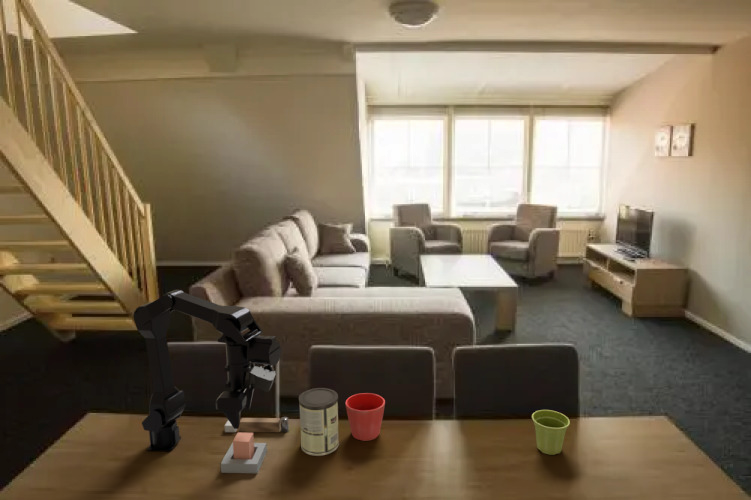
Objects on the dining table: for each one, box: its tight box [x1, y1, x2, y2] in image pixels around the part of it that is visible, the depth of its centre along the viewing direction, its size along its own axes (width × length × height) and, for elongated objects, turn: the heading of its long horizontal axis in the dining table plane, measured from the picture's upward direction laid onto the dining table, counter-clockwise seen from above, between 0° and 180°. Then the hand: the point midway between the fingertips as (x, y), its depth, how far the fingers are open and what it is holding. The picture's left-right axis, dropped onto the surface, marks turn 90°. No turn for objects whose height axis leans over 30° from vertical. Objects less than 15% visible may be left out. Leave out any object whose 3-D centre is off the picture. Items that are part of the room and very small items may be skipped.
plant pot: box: [531, 409, 571, 456], centre depth 129 cm, size 9×9×9 cm
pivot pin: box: [280, 416, 290, 433], centre depth 138 cm, size 2×2×4 cm
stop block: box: [224, 419, 238, 433], centre depth 139 cm, size 3×3×2 cm
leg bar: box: [239, 417, 281, 433], centre depth 139 cm, size 11×2×3 cm, turn 89°
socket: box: [220, 442, 268, 474], centre depth 124 cm, size 9×9×2 cm
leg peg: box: [232, 431, 255, 460], centre depth 123 cm, size 4×4×7 cm
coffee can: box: [298, 387, 340, 457], centre depth 130 cm, size 10×10×14 cm
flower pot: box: [344, 392, 386, 442], centre depth 136 cm, size 11×11×10 cm
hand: (242, 418), depth 122 cm, fingers open, 9 cm apart
